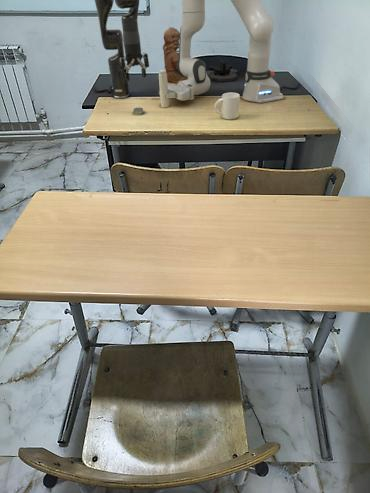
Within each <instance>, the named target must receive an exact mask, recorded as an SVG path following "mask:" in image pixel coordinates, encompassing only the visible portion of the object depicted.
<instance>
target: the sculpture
mask: <svg viewBox="0 0 370 493" xmlns="http://www.w3.org/2000/svg"><path fill="white" fill-rule="evenodd" d="M163 40H164V44H163V45H162V50H163V61H164V70H166V74H167V84H170V83H172V84H175V85H178V82H180V81H183V80H187V79H188V77H182V76H180V75H179V73H178V71H177V63H178V58H179V52H178V51H177V50H178V49H179V40H180V30H178V29H177V28H174V27H168V28H167V29H166V30H165V31H164V33H163ZM157 80H158V81H159V78H158V79H157Z"/></svg>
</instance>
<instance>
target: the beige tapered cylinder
mask: <svg viewBox="0 0 370 493" xmlns="http://www.w3.org/2000/svg"><path fill="white" fill-rule="evenodd" d="M158 79H159V80H158V85H159V91H160V94H159V100H160V107H161V108H169V107H170V101H169V98H166V97H165V94H167V93H168V84H167V74H166V70H165V69H159V70H158Z"/></svg>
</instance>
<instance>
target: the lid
mask: <svg viewBox="0 0 370 493" xmlns="http://www.w3.org/2000/svg"><path fill="white" fill-rule="evenodd" d="M133 114H134V115H136V116H140V115H143V114H144V108H143V107H134V108H133Z"/></svg>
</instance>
